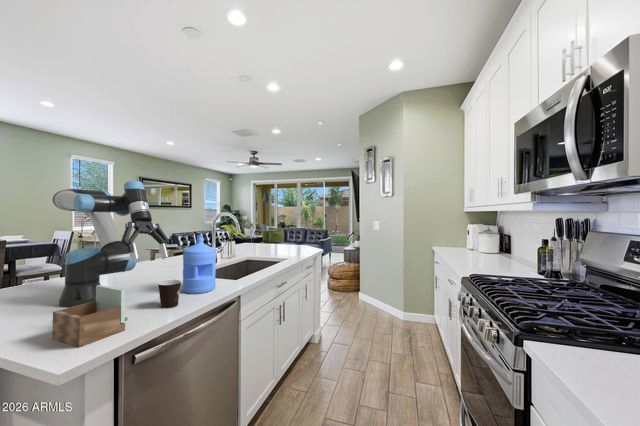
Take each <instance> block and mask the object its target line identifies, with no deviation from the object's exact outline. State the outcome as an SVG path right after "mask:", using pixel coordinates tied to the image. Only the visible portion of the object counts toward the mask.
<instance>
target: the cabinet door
mask: <svg viewBox="0 0 640 426" xmlns="http://www.w3.org/2000/svg"><path fill="white" fill-rule="evenodd" d="M117 306H119V307H120V323H126V321H128V320H129V317H127V316H125V315H126V313H125V312H126V289H125V288H118V287H114V286H113V287H112V286H107V285H98V286H96V312H100V311H103V310H107V309H110V308H114V307H117Z"/></svg>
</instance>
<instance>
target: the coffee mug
mask: <svg viewBox="0 0 640 426" xmlns="http://www.w3.org/2000/svg"><path fill="white" fill-rule="evenodd" d="M157 284H158V294H159V299H160V300H159V301H160V308H161V309H173V308H175V307H178V306H179V300H180V293H181V292H180V291H181V284H182V281H181V280H179V279H170V280H163V281H159V282H158V283H157Z"/></svg>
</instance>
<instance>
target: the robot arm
mask: <svg viewBox="0 0 640 426" xmlns="http://www.w3.org/2000/svg"><path fill="white" fill-rule="evenodd" d="M123 190H124V193H123V194H122V195H112V194H111V193H110V192H109V191H106V190H101V189H98V190H95V189H94V190H93V189H81V188H79V189H78V188H67V189H62V190H58V191H57V192H56V193H55V194H54V195H53V196H52V203H53V205H54V206H55V207H56V208H57V209H59V210H63V211H67V212H78V213H84V215H85V216H86V217H87V218H90V221H91V224H92V226H93V228H94V231H95V234H96V235H97V238H98V241H99V243H100V245H101V247H99V246H92V247H81V248H76V249H73V250H70V251H68V252H67V253H66V254H65V261H64V287H63V290H62V292H61V294H60V296H59V299H58V306H60V307H63V308H70V307H73V306H77V305H81V304H85V303H89V302H93V301H96V286H98V285H101V282H100V278H101V277H100V276H105V275H110V274H116V273H126V272H129V271H133V270H134V269H135V267H136V265H137V263H138V259H139V254H138V250H137V247H136V243H135V242H134V241H135V240H136V239H137V237H138V235H139V234H140V235H142V234H144V235H148V236H150V237H151V238H153V239H154V240H155V242H157V243H158V244H159V245H158V247H159V251H160V255H161V259H162V260H165V259H166V258H168V257H169V256H168V247H167V244H168V243H169V242H170V240H169V238H168V237H167V235H166V234H165V232H164V231H163V230H162V228H161V226H160V224H159V223H157V222H156V224H155V223H152V221H153V220H152V214H151V211H150V207H149V201H148V197H147V193H146V189H145V186H144V184H143V182H142V181H139V180H128V181H126V182H124V184H123ZM111 213H115V214H116V215H118V216H120V217H126V216H129V215H130V221H128V222H127V223H125V230H124V232H123V234H122V237H121V234H120V233H119V231H118V227H117V226H116V223H115V221H114V219H113V217H112V215H111ZM133 228H134V231H133V232H132V230H133ZM131 233H132V234H131Z"/></svg>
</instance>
